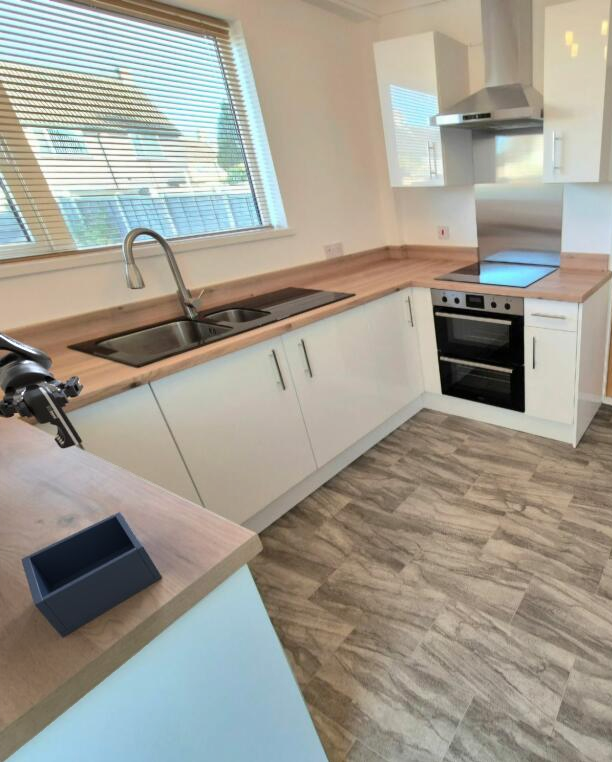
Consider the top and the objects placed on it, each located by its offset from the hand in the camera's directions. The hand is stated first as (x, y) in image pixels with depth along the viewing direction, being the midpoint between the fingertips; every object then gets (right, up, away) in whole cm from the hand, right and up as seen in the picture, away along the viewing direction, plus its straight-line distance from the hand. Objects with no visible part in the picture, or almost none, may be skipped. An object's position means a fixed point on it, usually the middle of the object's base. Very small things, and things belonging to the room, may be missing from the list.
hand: (44, 407), depth 79 cm
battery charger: (-2, -8, +6) cm, 10 cm away
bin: (+24, -26, -13) cm, 38 cm away
